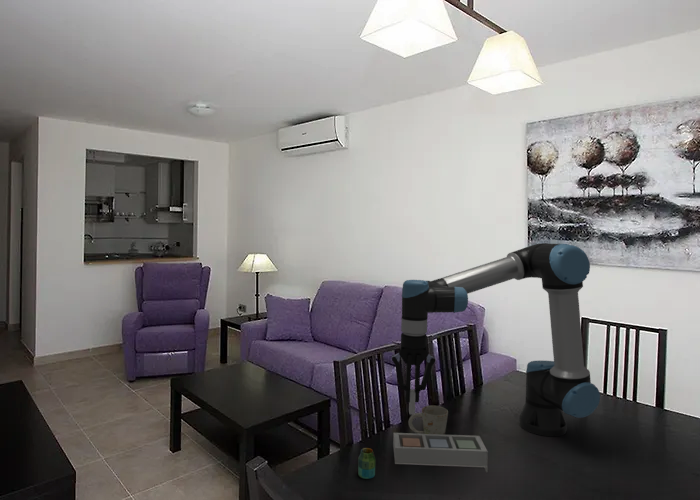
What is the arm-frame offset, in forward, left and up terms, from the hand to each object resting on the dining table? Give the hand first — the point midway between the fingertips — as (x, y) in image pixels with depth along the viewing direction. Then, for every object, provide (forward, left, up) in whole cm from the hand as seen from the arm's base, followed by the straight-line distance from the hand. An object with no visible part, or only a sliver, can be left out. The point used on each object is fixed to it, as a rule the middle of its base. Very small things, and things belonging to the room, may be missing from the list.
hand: (411, 412), depth 137 cm
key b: (-8, 0, -11) cm, 14 cm away
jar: (+13, +12, -15) cm, 23 cm away
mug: (-7, -14, -15) cm, 21 cm away
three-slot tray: (-8, 0, -14) cm, 16 cm away
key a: (-16, 0, -11) cm, 20 cm away
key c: (0, 0, -11) cm, 11 cm away
